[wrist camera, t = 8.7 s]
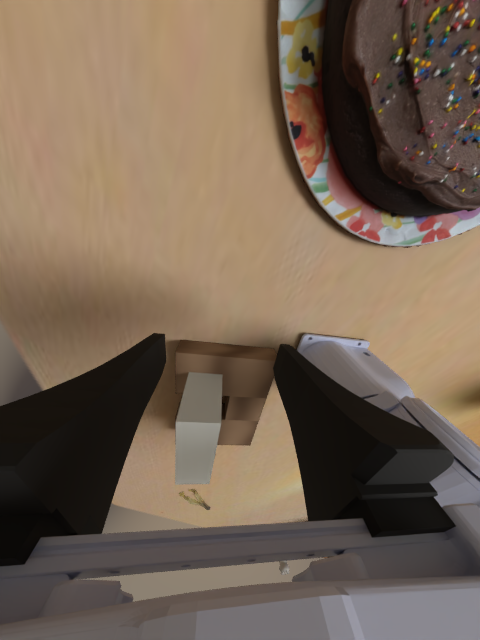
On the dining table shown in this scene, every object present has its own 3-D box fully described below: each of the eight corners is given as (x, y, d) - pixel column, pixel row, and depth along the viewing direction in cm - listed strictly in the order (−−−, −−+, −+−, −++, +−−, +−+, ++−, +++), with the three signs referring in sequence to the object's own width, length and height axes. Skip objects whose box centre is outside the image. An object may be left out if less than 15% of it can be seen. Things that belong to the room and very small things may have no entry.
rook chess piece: (279, 530, 59) (286, 571, 52) (287, 532, 60) (295, 572, 53) (269, 534, 60) (275, 574, 53) (277, 536, 62) (283, 575, 54)
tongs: (206, 505, 47) (205, 516, 45) (179, 485, 42) (176, 496, 40) (220, 502, 46) (219, 512, 44) (194, 480, 41) (192, 492, 39)
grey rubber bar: (222, 374, 21) (221, 423, 16) (212, 432, 26) (209, 483, 21) (188, 372, 20) (175, 421, 15) (185, 432, 26) (175, 484, 20)
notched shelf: (274, 348, 23) (279, 361, 21) (248, 429, 31) (250, 445, 29) (180, 339, 21) (175, 352, 19) (179, 427, 29) (175, 444, 27)
